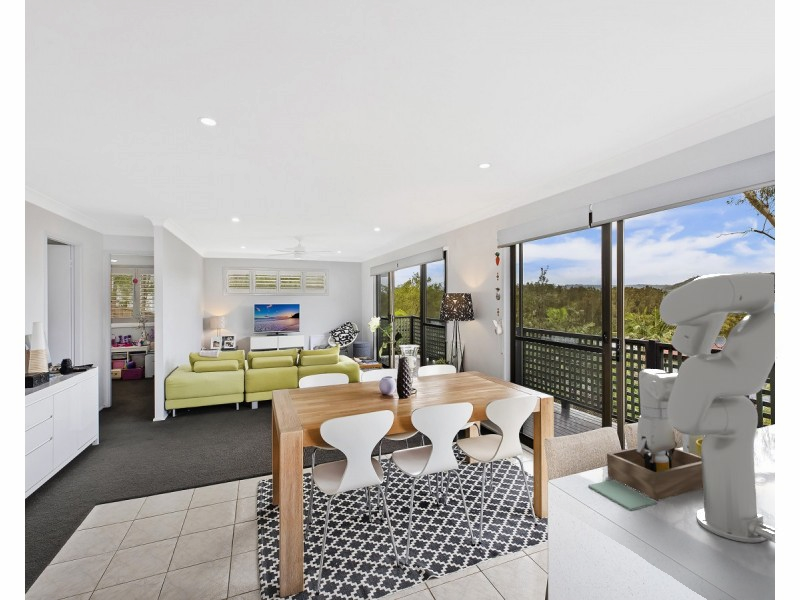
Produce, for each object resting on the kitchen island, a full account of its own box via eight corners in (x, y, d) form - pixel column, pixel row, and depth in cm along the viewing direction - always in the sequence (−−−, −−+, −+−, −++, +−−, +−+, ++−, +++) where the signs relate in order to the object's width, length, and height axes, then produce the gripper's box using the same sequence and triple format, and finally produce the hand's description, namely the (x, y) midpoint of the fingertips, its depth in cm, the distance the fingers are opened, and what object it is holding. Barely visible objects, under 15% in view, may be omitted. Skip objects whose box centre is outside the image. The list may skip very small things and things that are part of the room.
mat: (656, 503, 102) (656, 501, 102) (630, 510, 99) (630, 508, 99) (612, 481, 115) (612, 479, 115) (588, 486, 112) (588, 485, 112)
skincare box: (682, 457, 130) (680, 421, 130) (698, 458, 128) (696, 422, 128) (689, 465, 124) (687, 427, 124) (705, 466, 122) (703, 428, 122)
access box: (713, 485, 110) (712, 460, 110) (657, 500, 103) (655, 474, 103) (660, 464, 125) (659, 442, 125) (607, 476, 118) (606, 453, 118)
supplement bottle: (674, 484, 111) (672, 450, 112) (655, 485, 112) (653, 451, 112) (662, 476, 117) (660, 444, 117) (644, 476, 117) (642, 444, 117)
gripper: (664, 405, 121) (667, 463, 120) (622, 412, 115) (625, 472, 115) (688, 411, 114) (692, 472, 113) (645, 418, 108) (648, 483, 108)
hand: (658, 472), depth 114 cm, fingers closed on supplement bottle, 5 cm apart
